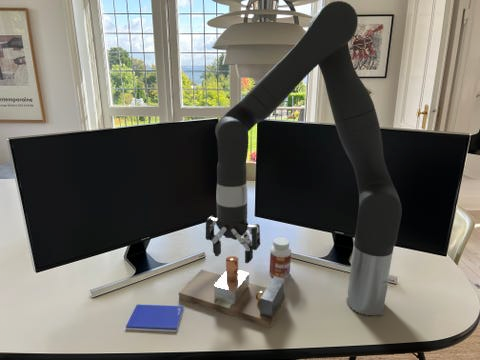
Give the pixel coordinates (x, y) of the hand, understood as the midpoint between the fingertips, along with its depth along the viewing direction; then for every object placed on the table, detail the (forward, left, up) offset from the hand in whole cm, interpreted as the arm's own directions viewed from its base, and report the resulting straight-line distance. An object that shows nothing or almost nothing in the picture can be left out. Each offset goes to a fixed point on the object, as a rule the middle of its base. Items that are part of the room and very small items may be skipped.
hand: (232, 258), depth 88 cm
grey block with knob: (-10, 0, -11) cm, 15 cm away
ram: (0, 0, -10) cm, 11 cm away
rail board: (0, 0, -13) cm, 13 cm away
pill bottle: (-8, -17, -13) cm, 23 cm away
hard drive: (+14, +15, -14) cm, 24 cm away
